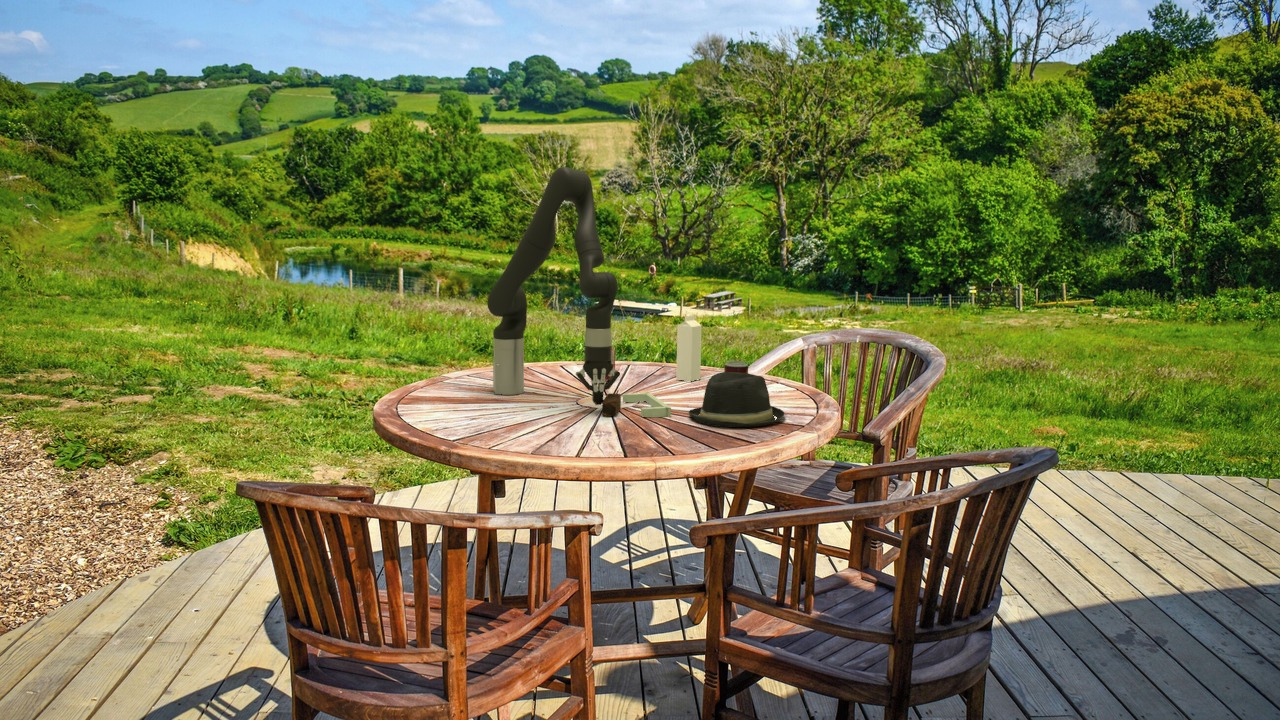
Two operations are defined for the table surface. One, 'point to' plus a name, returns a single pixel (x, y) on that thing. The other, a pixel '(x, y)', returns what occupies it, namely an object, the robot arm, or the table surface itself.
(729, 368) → the soda can
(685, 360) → the milk
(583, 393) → the table surface
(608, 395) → the brick
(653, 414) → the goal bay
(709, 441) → the table surface
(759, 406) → the fedora
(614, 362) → the soda can
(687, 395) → the table surface
